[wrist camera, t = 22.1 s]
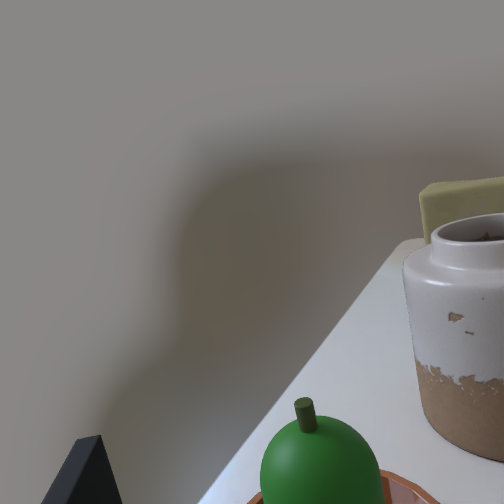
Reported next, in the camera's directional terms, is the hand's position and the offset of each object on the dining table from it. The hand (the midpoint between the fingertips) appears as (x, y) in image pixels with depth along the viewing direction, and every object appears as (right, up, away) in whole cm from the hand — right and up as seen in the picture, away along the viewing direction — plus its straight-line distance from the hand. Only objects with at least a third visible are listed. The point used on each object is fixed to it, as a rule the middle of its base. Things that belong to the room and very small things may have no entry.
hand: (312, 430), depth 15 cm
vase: (+21, -8, +27) cm, 35 cm away
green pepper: (+4, -15, +13) cm, 20 cm away
